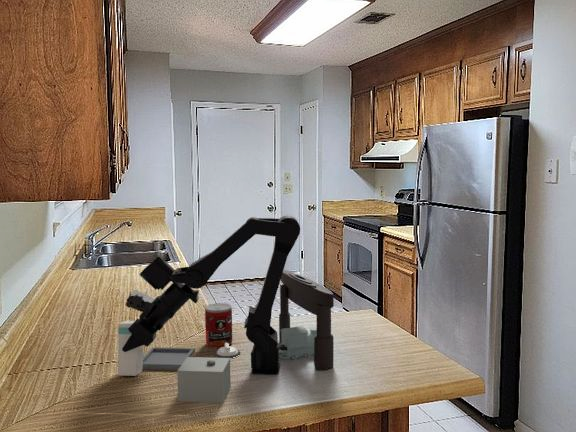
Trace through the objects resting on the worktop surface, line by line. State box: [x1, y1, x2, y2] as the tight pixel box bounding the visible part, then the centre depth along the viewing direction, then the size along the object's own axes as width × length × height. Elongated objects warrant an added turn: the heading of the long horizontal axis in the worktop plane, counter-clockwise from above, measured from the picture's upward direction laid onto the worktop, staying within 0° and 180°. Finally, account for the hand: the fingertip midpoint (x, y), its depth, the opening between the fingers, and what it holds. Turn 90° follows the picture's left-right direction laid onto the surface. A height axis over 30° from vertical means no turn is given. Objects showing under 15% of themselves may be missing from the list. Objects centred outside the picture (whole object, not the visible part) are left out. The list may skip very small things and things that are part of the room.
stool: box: [278, 269, 335, 371], centre depth 140 cm, size 16×21×33 cm
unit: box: [176, 356, 232, 404], centre depth 116 cm, size 10×8×8 cm
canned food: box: [204, 302, 233, 348], centre depth 148 cm, size 8×8×11 cm
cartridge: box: [117, 320, 144, 377], centre depth 128 cm, size 5×5×12 cm
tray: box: [143, 346, 196, 371], centre depth 136 cm, size 12×12×2 cm
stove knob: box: [213, 343, 241, 359], centre depth 141 cm, size 7×7×3 cm
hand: (126, 346), depth 128 cm, fingers closed on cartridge, 5 cm apart
